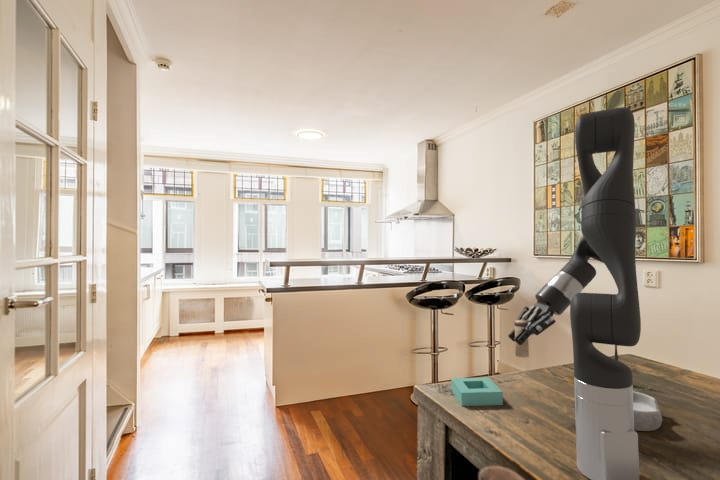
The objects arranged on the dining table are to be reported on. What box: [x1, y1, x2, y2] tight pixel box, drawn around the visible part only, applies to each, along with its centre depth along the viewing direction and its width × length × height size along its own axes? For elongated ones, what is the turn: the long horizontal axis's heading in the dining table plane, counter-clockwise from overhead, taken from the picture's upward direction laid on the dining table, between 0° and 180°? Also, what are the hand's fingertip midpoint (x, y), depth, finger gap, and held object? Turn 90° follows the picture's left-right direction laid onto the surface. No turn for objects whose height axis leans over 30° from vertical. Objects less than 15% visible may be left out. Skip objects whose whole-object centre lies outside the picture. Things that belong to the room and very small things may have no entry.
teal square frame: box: [450, 376, 504, 407], centre depth 106 cm, size 11×11×4 cm
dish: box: [633, 391, 663, 432], centre depth 91 cm, size 14×14×5 cm
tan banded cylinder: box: [513, 319, 530, 359], centre depth 99 cm, size 3×3×9 cm
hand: (514, 340), depth 98 cm, fingers closed on tan banded cylinder, 3 cm apart
